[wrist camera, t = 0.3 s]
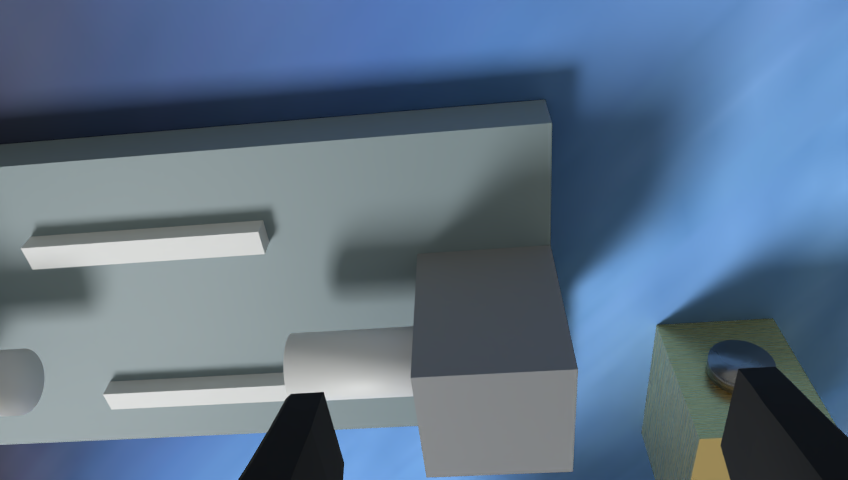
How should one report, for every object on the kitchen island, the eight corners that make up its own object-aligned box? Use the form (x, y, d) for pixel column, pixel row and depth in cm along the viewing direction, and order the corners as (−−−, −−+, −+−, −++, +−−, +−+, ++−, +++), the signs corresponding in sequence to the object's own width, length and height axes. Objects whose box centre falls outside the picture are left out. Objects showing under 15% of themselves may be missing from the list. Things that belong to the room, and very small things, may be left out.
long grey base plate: (543, 388, 26) (568, 550, 20) (-41, 417, 28) (-156, 572, 22) (545, 99, 19) (585, 231, 13) (-237, 163, 21) (-470, 302, 15)
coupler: (775, 306, 23) (845, 421, 19) (739, 434, 27) (791, 552, 23) (657, 312, 23) (702, 428, 19) (639, 438, 27) (673, 556, 23)
